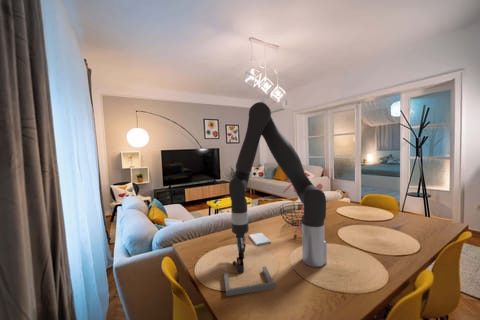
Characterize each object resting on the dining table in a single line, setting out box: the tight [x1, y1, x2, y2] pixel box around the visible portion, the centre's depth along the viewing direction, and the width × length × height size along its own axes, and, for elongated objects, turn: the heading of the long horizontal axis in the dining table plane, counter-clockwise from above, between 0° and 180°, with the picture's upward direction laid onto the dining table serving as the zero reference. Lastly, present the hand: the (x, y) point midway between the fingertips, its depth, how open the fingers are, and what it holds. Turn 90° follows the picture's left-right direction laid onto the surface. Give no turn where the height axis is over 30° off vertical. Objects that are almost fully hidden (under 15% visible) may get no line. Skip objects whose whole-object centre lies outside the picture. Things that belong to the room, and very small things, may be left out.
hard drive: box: [248, 232, 272, 247], centre depth 112 cm, size 2×8×12 cm
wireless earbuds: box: [232, 256, 245, 273], centre depth 86 cm, size 5×7×3 cm, turn 3°
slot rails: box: [223, 265, 275, 297], centre depth 77 cm, size 17×11×2 cm, turn 99°
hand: (241, 258), depth 91 cm, fingers closed
